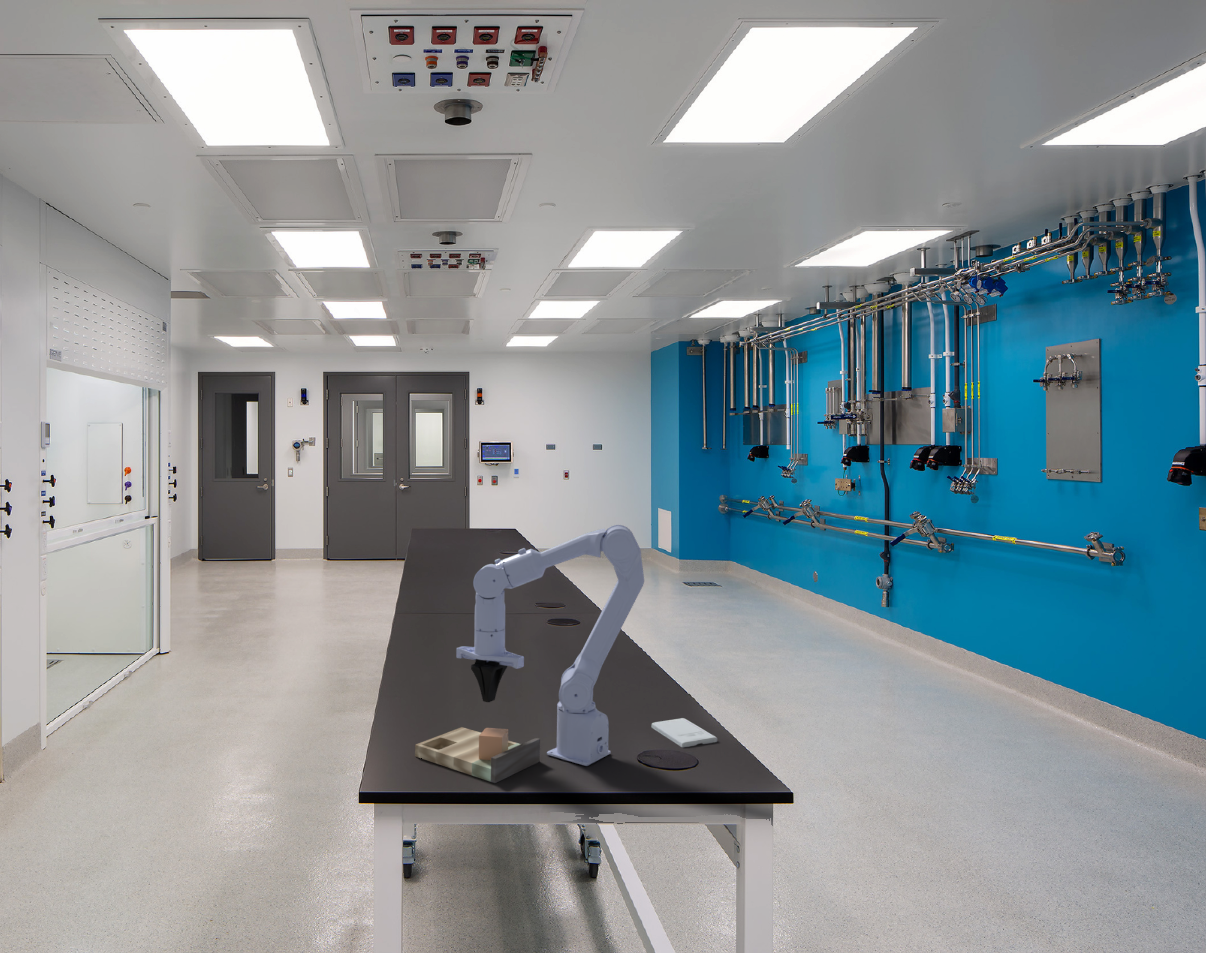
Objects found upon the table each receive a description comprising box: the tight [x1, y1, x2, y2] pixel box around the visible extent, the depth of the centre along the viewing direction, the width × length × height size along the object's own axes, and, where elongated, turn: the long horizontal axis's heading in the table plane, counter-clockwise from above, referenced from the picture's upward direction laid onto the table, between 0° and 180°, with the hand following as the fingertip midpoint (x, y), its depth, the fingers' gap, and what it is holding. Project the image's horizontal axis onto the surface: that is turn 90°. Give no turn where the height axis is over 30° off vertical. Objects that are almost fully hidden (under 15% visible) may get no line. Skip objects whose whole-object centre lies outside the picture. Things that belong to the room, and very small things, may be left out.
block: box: [479, 727, 509, 760], centre depth 139 cm, size 4×4×4 cm
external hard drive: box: [651, 717, 718, 748], centre depth 158 cm, size 2×8×12 cm
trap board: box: [414, 726, 541, 784], centre depth 143 cm, size 20×12×4 cm, turn 55°
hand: (488, 700), depth 146 cm, fingers closed
